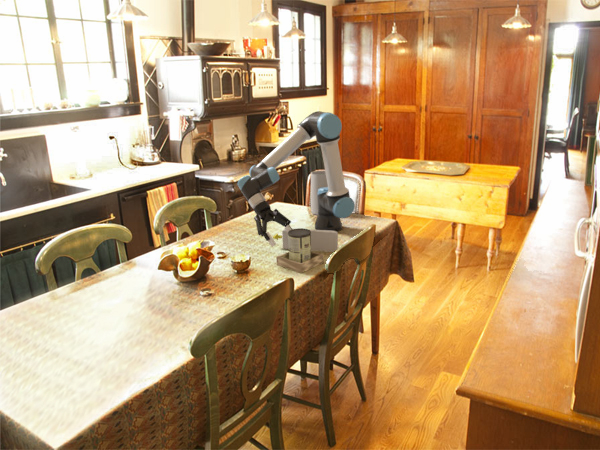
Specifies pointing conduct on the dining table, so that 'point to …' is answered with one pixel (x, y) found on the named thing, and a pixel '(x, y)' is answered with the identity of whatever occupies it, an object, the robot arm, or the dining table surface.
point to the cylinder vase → (316, 183)
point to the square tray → (300, 267)
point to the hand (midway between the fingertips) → (284, 241)
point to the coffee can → (299, 245)
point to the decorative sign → (316, 240)
